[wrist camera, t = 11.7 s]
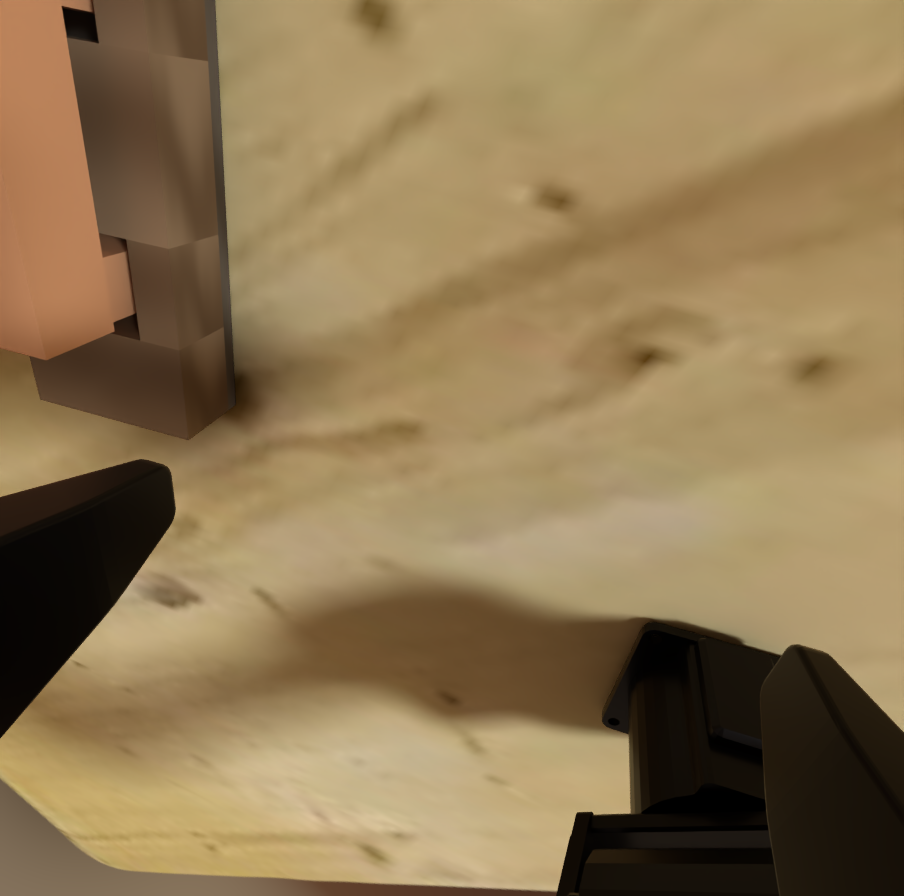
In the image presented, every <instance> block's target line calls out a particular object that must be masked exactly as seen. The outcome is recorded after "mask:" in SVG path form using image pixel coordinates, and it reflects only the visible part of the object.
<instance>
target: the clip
mask: <svg viewBox="0 0 904 896" xmlns="http://www.w3.org/2000/svg"><path fill="white" fill-rule="evenodd" d="M62 8H65V9H70V10H75V11H80V12H85V13H90V14H95V12H94V5H93V0H0V348H2V349H5V350H9V351H13V352H17V353H21V354H24V355H28V356H32V357H36V358H39V359H43V360H48V359H51V358H53V357H55V356H58V355H60V354H63V353H65V352H67V351H70V350H72V349H74V348H77V347H79V346H81V345H84V344H86V343H88V342H91V341H93V340H96V339H98V338H100V337H103V336H105V335H107V334H110V333H112V332H114V331H115V330H114V324H113V322H116V321H118V320H120V319H123V318H125V317H128V316H130V315H133V314H135V313H137V312H136V305H135V298H134V291H133V284H132V277H131V270H130V262H129V255H128V248H127V241H126V239H123V238H119V237H114V236H110V235H105V234H101V233H99V232H98V226H97V220H96V214H95V208H94V202H93V196H92V190H91V184H90V177H89V171H88V165H87V159H86V153H85V147H84V141H83V135H82V128H81V122H80V116H79V110H78V104H77V98H76V92H75V86H74V80H73V73H72V67H71V61H70V55H69V49H68V43H67V37H66V31H65V25H64V18H63V12H62Z"/></svg>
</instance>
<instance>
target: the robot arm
mask: <svg viewBox="0 0 904 896" xmlns="http://www.w3.org/2000/svg"><path fill="white" fill-rule="evenodd" d="M175 510H176V507H175V499H174V491H173V483H172V475H171V472H170V470H169V468H168V467H167V466H165V465H163V464H159V463H156V462H152V461H149V460H144V459H139V460H135V461H131V462H127V463H124V464H120V465H116V466H113V467H109V468H105V469H102V470H98V471H94V472H91V473H87V474H83V475H80V476H76V477H72V478H69V479H65V480H61V481H58V482H54V483H50V484H47V485H43V486H39V487H36V488H32V489H28V490H25V491H21V492H17V493H14V494H10V495H7V496H3V497H0V738H1V737H2V736H3V735H4V734H5V732H6V731H7V730H8V729H9V728H10V727H11V725H12V724H13V723H14V722H15V721H16V720H17V719H18V717H19V716H20V715H21V714H22V713H23V712H24V710H25V709H26V708H27V707H28V706H29V705H30V703H31V702H32V701H33V700H34V699H35V698H36V696H37V695H38V694H39V693H40V692H41V691H42V689H43V688H44V687H45V686H46V685H47V684H48V682H49V681H50V680H51V679H52V678H53V677H54V675H55V674H56V673H57V672H58V671H59V670H60V668H61V667H62V666H63V665H64V664H65V663H66V661H67V660H68V659H69V658H70V657H71V656H72V654H73V653H74V652H75V651H76V650H77V649H78V647H79V646H80V645H81V644H82V643H83V642H84V641H85V639H86V638H87V637H88V636H89V635H90V634H91V632H92V631H93V630H94V629H95V628H96V627H97V625H98V624H99V623H100V622H101V621H102V620H103V618H104V617H105V616H106V615H107V613H108V612H109V611H110V610H111V609H112V607H113V606H114V605H115V603H116V602H117V601H118V599H119V598H120V597H121V595H122V594H123V593H124V591H125V590H126V588H127V587H128V586H129V584H130V583H131V581H132V580H133V578H134V577H135V575H136V574H137V573H138V571H139V570H140V568H141V567H142V565H143V564H144V563H145V561H146V560H147V558H148V557H149V555H150V554H151V553H152V551H153V550H154V548H155V547H156V545H157V544H158V543H159V541H160V540H161V538H162V537H163V535H164V534H165V533H166V531H167V530H168V528H169V527H170V525H171V524H172V521H173V519H174V516H175ZM653 634H655V635H659V636H652V635H653ZM602 722H603V724H604V725H605V726H606V727H608V728H611V729H614V730H617V731H620V732H624V733H627V734H629V766H630V806H631V814H602V815H594V814H593V812H577V814H576V817H575V822H574V826H573V830H572V834H571V836H570V839H569V843H568V848H567V852H566V856H565V860H564V865H563V869H562V873H561V878H560V882H559V886H558V890H557V895H556V896H904V732H903V731H902V730H901V729H900V728H899V727H898V726H897V725H896V724H895V723H894V722H893V721H892V720H891V718H890V717H889V716H888V715H887V714H886V713H885V712H884V711H883V710H882V709H881V708H880V707H879V706H878V705H877V704H876V703H875V702H874V701H873V700H872V699H871V698H870V697H869V695H868V694H867V693H866V692H865V691H864V690H863V689H862V688H861V687H860V686H859V685H858V684H857V683H856V682H855V681H854V680H853V679H852V678H851V677H850V676H849V675H848V673H847V672H846V671H845V670H844V669H843V668H842V667H841V666H840V665H839V664H838V663H837V662H836V661H835V660H834V659H833V658H832V657H831V656H830V655H829V654H827V653H825V652H823V651H820V650H816V649H813V648H809V647H806V646H802V645H798V644H796V645H791V646H789V647H788V648H787V649H786V650H785V651H784V653H783V654H782V656H781V657H780V658H779V657H775V656H772V655H768V654H765V653H761V652H758V651H754V650H751V649H748V648H744V647H741V646H737V645H734V644H730V643H727V642H723V641H720V640H716V639H713V638H709V637H706V636H702V635H699V634H695V633H692V632H688V631H685V630H681V629H678V628H674V627H671V626H667V625H664V624H660V623H655V622H652V623H647V624H645V625H644V626H643V627H642V629H641V631H640V633H639V635H638V637H637V640H636V642H635V644H634V646H633V648H632V650H631V652H630V654H629V656H628V659H627V661H626V663H625V665H624V667H623V669H622V671H621V673H620V675H619V677H618V680H617V682H616V684H615V686H614V688H613V690H612V692H611V694H610V696H609V699H608V701H607V703H606V705H605V707H604V709H603V713H602Z"/></svg>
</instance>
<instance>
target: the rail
mask: <svg viewBox="0 0 904 896" xmlns="http://www.w3.org/2000/svg"><path fill="white" fill-rule="evenodd" d="M93 5H94V12H95V14H90V13H85V12H80V11H75V10H70V9H65V8H62V12H63V18H64V25H65V31H66V37H67V43H68V49H69V55H70V61H71V67H72V73H73V80H74V86H75V92H76V98H77V104H78V110H79V116H80V122H81V128H82V135H83V141H84V147H85V153H86V159H87V165H88V171H89V177H90V184H91V190H92V196H93V202H94V208H95V214H96V220H97V226H98V232H99V233H101V234H105V235H110V236H114V237H119V238H123V239H126V241H127V248H128V255H129V262H130V270H131V277H132V284H133V291H134V298H135V305H136V312H137V313H135V314H133V315H130V316H128V317H125V318H123V319H120V320H118V321H116V322H113V324H114V330H115V331H114V332H112V333H110V334H107V335H105V336H103V337H100V338H98V339H96V340H93V341H91V342H88V343H86V344H84V345H81V346H79V347H77V348H74V349H72V350H70V351H67V352H65V353H63V354H60V355H58V356H55V357H53V358H51V359H48V360H43V359H39V358H36V357H32V356H30V360H31V364H32V368H33V372H34V376H35V380H36V384H37V388H38V392H39V396H40V399H41V400H44V401H48V402H51V403H55V404H59V405H62V406H66V407H70V408H73V409H77V410H81V411H84V412H88V413H91V414H95V415H99V416H102V417H106V418H110V419H113V420H117V421H121V422H124V423H128V424H131V425H135V426H139V427H142V428H146V429H150V430H153V431H157V432H161V433H164V434H168V435H171V436H175V437H179V438H182V439H186V440H189V439H191V438H192V437H193V436H195V435H196V434H197V433H199V432H200V431H201V430H203V429H204V428H205V427H207V426H208V425H209V424H211V423H212V422H213V421H215V420H216V419H217V418H219V417H220V416H221V415H223V414H224V413H225V412H227V411H228V410H229V409H231V408H232V407H233V406H235V405H236V402H235V382H234V362H233V343H232V323H231V304H230V284H229V265H228V245H227V226H226V206H225V187H224V167H223V148H222V128H221V109H220V89H219V70H218V50H217V31H216V11H215V0H93Z"/></svg>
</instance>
